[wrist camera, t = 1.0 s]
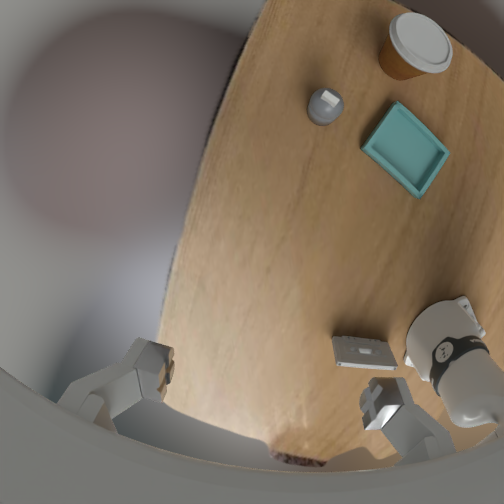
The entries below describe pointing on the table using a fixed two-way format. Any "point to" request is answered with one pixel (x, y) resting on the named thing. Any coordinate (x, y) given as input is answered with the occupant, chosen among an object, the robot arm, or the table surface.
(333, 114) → the gray bottle
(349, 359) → the cassette
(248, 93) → the table surface
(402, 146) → the tray
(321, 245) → the table surface
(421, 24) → the disposable coffee cup
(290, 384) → the table surface
